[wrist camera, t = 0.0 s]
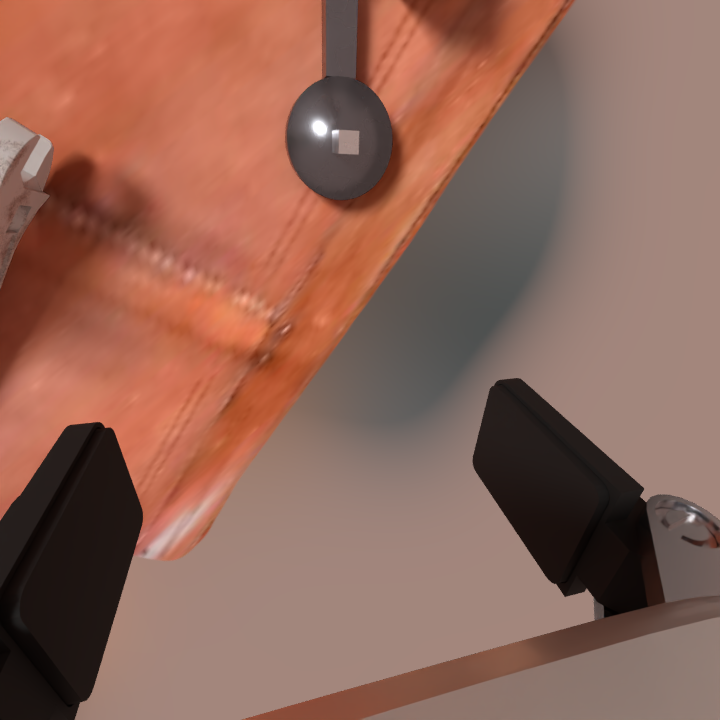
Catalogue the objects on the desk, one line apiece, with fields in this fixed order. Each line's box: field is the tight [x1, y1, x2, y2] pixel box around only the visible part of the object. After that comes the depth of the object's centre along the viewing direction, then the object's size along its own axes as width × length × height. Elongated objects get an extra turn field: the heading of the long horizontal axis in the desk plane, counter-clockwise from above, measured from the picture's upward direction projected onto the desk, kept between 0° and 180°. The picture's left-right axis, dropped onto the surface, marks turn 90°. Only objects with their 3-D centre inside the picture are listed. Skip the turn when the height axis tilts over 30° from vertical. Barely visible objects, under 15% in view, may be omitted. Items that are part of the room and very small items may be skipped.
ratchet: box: [285, 0, 392, 200], centre depth 28 cm, size 24×9×6 cm, turn 178°
